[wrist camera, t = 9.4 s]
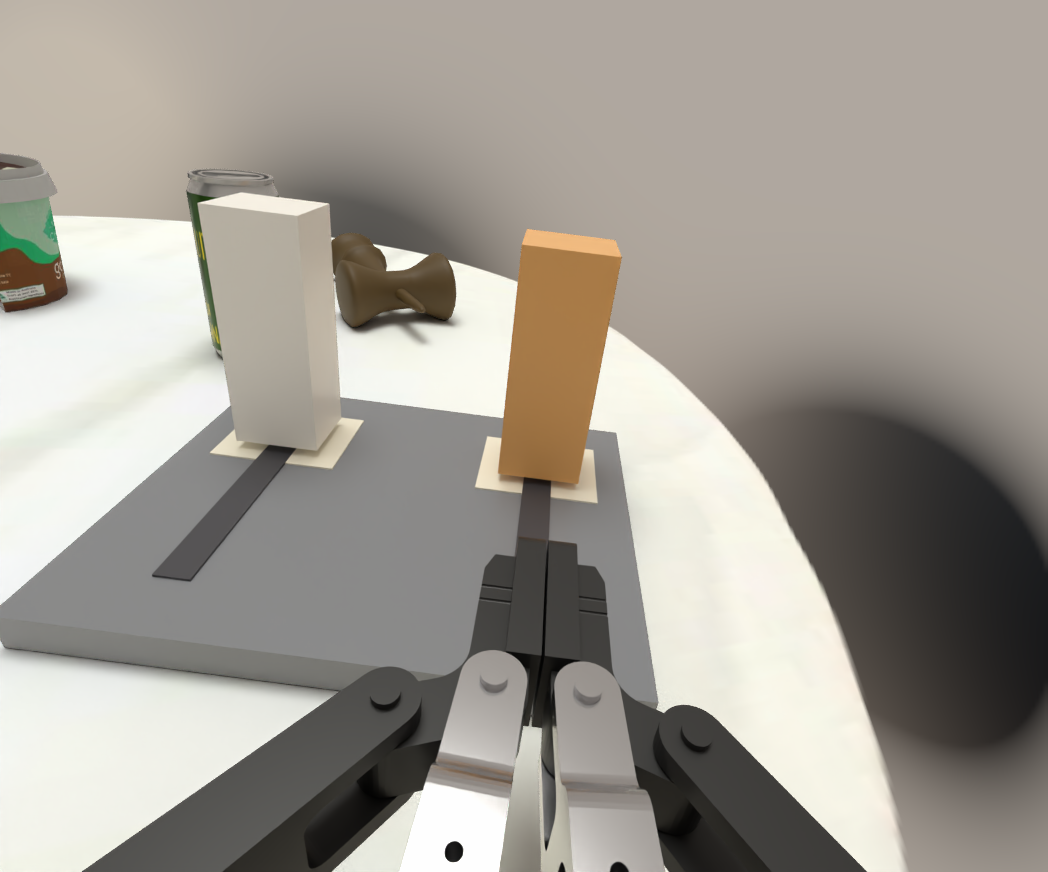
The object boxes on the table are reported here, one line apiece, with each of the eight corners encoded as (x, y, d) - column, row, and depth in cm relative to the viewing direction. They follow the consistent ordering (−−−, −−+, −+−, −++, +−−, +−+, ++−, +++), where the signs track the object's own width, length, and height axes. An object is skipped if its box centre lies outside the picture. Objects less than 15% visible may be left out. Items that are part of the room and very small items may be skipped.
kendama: (395, 281, 64) (476, 339, 49) (306, 287, 59) (366, 354, 45) (393, 225, 61) (478, 269, 46) (299, 227, 56) (361, 277, 42)
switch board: (648, 730, 19) (659, 700, 18) (4, 647, 19) (-13, 613, 18) (611, 454, 35) (616, 431, 34) (256, 408, 35) (252, 384, 34)
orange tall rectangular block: (578, 484, 28) (621, 257, 23) (497, 473, 28) (521, 244, 23) (576, 447, 31) (615, 240, 26) (504, 438, 31) (527, 229, 26)
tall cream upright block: (316, 450, 28) (297, 215, 23) (236, 440, 28) (197, 203, 23) (341, 417, 31) (329, 203, 26) (268, 408, 31) (241, 192, 26)
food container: (106, 305, 47) (71, 172, 42) (10, 318, 42) (-42, 171, 37) (60, 268, 53) (26, 150, 48) (-26, 276, 49) (-74, 147, 44)
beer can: (284, 334, 45) (267, 170, 39) (302, 359, 42) (286, 183, 36) (209, 341, 43) (178, 166, 37) (220, 369, 39) (188, 179, 33)
